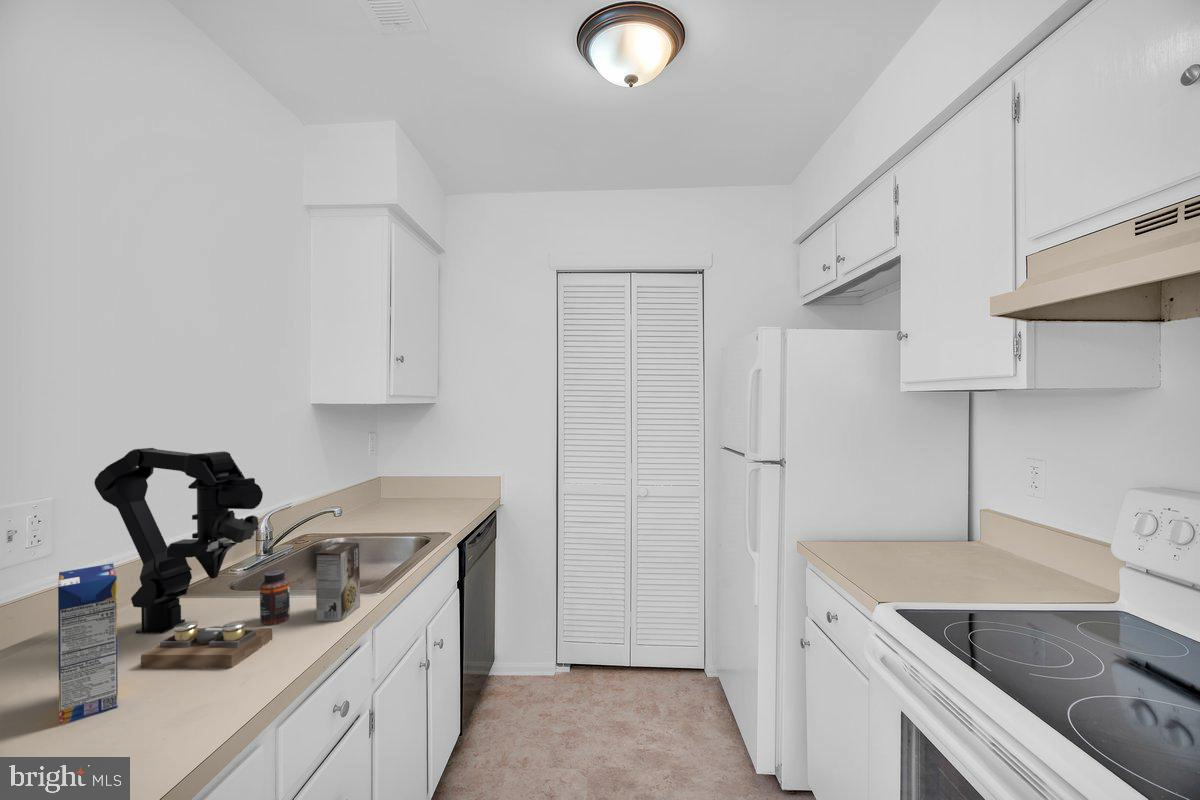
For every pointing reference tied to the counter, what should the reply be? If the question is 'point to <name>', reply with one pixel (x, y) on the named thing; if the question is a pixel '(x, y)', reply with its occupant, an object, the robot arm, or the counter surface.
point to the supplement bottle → (274, 598)
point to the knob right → (233, 631)
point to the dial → (208, 635)
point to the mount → (205, 651)
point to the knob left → (186, 631)
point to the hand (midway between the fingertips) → (213, 577)
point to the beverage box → (87, 642)
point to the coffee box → (337, 581)
